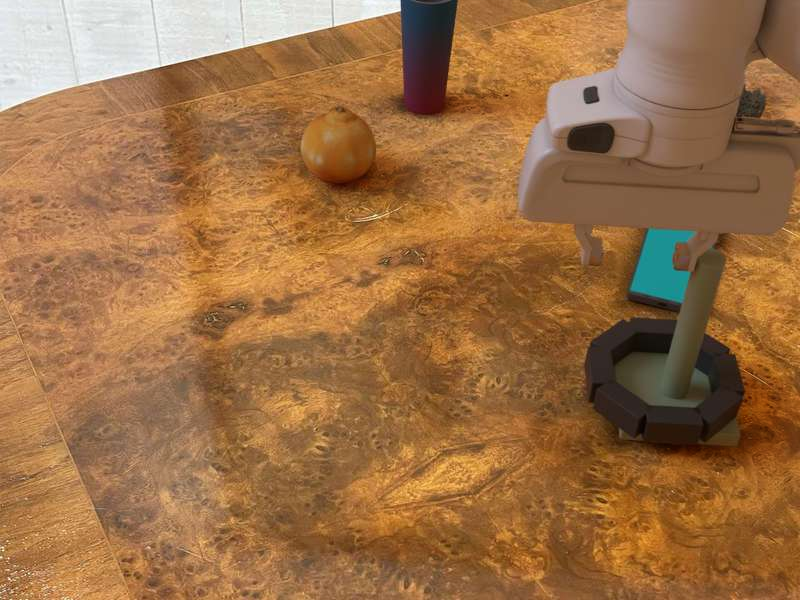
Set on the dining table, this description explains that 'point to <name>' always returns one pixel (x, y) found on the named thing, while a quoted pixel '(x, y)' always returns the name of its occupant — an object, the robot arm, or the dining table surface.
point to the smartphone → (659, 270)
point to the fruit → (338, 146)
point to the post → (681, 354)
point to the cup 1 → (426, 52)
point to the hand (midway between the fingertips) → (636, 264)
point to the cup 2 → (751, 103)
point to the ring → (655, 419)
